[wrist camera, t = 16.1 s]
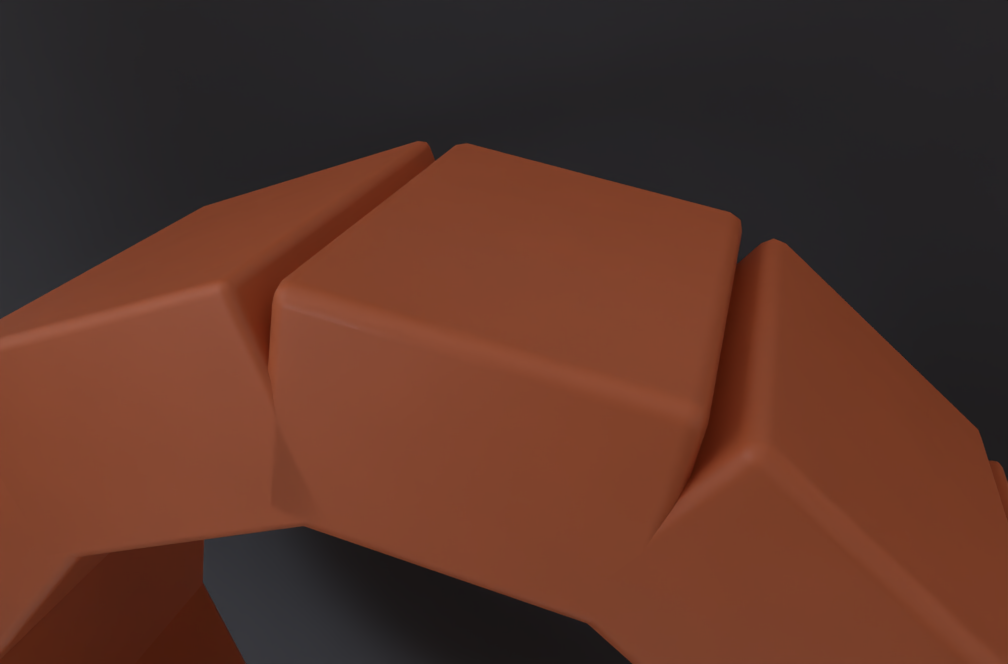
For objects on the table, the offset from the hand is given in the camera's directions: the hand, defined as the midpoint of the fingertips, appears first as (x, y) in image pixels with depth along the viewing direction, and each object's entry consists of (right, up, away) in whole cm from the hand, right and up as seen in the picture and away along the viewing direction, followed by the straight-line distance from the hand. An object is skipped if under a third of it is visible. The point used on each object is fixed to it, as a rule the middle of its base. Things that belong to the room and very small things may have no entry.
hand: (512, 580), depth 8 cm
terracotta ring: (0, 0, 0) cm, 0 cm away
